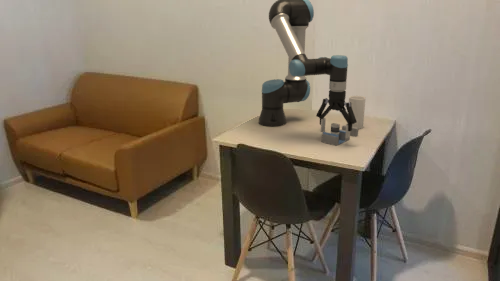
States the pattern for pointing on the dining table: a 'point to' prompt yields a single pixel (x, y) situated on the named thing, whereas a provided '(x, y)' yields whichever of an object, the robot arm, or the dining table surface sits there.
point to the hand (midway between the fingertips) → (334, 134)
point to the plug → (335, 128)
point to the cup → (358, 110)
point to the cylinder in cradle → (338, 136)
